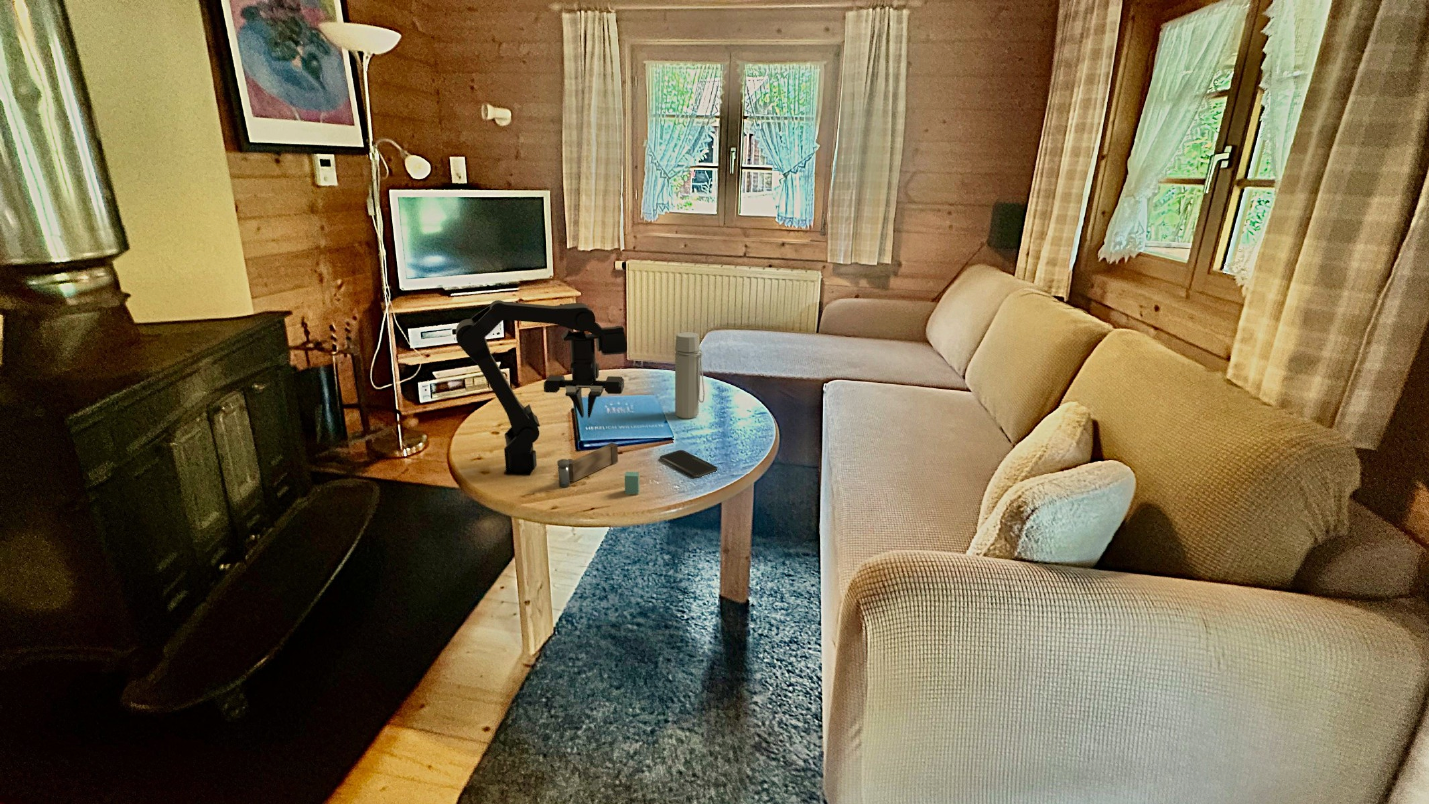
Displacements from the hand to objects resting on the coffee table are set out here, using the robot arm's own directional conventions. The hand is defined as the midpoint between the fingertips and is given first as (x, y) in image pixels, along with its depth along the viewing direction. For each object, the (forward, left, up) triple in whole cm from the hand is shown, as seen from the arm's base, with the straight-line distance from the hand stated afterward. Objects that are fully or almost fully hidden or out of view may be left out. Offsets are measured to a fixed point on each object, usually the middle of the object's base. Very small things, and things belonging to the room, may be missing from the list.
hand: (586, 417), depth 168 cm
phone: (+25, -1, -13) cm, 28 cm away
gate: (+2, -7, -12) cm, 14 cm away
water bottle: (+24, +34, -12) cm, 44 cm away
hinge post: (-3, -14, -12) cm, 19 cm away
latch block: (+13, -16, -12) cm, 24 cm away
